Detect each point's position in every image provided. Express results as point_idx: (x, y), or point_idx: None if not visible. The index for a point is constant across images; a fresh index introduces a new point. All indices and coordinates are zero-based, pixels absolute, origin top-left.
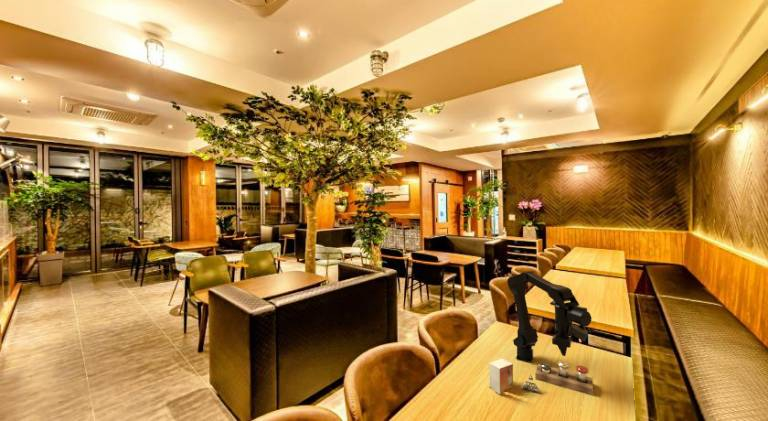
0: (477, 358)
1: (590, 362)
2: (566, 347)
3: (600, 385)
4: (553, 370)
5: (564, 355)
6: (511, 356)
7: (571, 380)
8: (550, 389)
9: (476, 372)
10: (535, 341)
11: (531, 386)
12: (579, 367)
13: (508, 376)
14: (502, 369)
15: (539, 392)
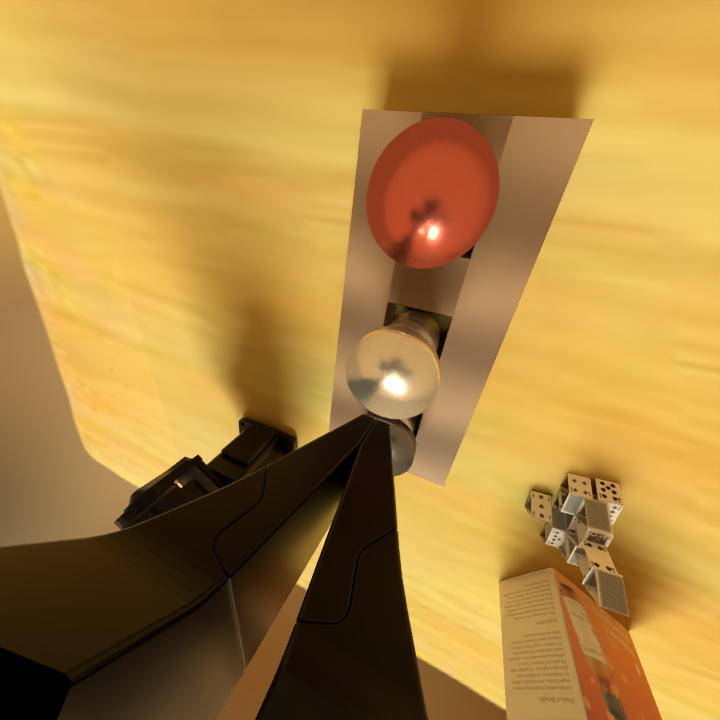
0: None
1: (115, 125)
2: (402, 608)
3: (373, 61)
4: None
5: (388, 436)
6: None
7: (472, 298)
8: (543, 417)
9: (468, 635)
10: (188, 500)
11: (573, 520)
12: (423, 231)
13: (606, 671)
14: None
15: (611, 487)
